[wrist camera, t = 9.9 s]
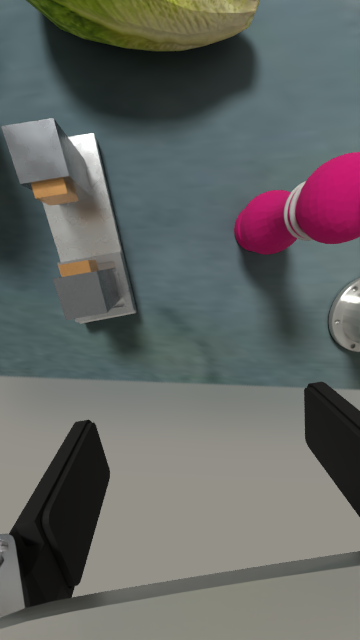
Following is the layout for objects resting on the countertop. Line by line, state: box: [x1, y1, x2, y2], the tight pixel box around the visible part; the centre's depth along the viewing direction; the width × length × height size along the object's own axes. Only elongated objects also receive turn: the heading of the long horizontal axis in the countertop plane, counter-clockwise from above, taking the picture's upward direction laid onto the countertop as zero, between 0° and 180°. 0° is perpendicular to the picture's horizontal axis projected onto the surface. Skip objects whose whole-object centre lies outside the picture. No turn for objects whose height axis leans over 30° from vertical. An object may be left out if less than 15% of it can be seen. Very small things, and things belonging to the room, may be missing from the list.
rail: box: [1, 118, 137, 324], centre depth 26 cm, size 8×22×10 cm, turn 10°
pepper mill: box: [234, 152, 360, 255], centre depth 23 cm, size 7×7×20 cm
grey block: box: [53, 260, 120, 320], centre depth 27 cm, size 6×4×8 cm
